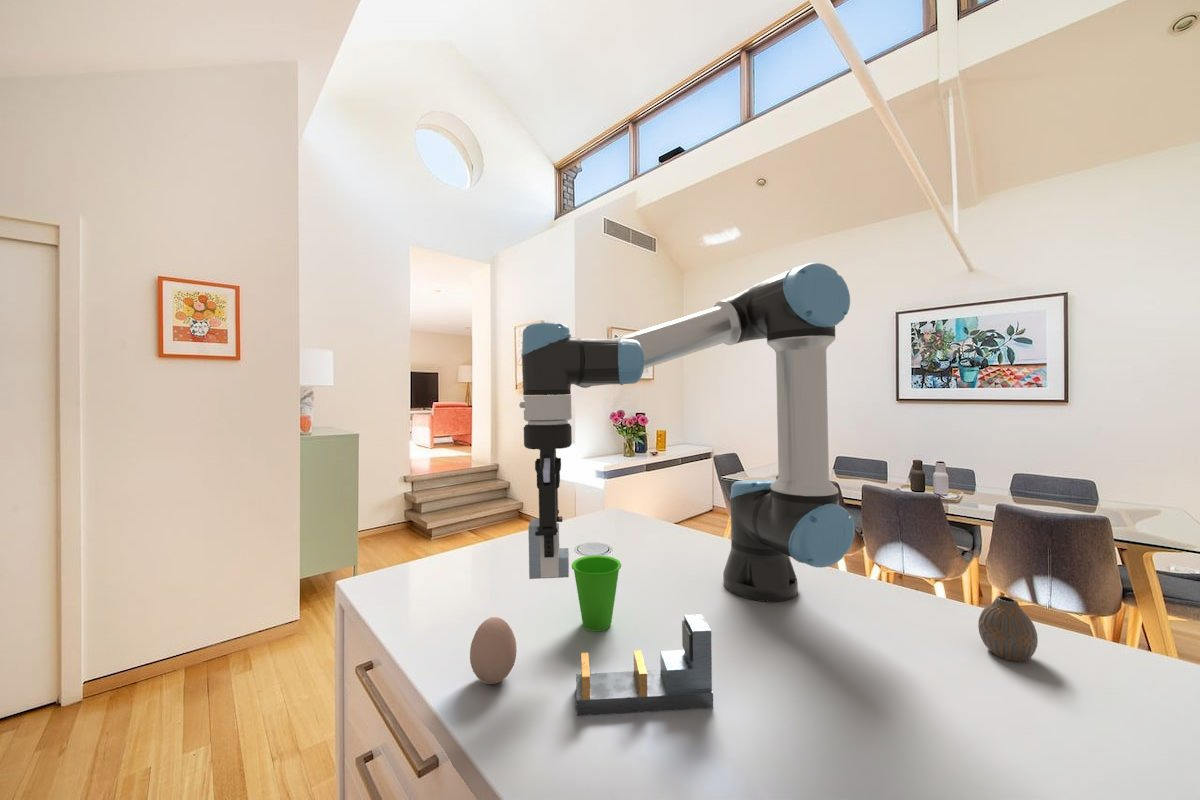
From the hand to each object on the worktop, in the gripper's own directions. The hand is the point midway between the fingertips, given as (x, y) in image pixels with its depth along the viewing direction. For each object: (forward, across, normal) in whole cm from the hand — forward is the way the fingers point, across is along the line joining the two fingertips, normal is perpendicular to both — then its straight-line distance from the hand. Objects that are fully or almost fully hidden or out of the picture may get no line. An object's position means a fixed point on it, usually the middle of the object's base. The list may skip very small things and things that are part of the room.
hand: (550, 569), depth 71 cm
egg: (+14, +5, -8) cm, 17 cm away
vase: (+15, +5, +72) cm, 73 cm away
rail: (+14, +11, +13) cm, 22 cm away
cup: (+14, -10, +8) cm, 19 cm away
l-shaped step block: (0, 0, 0) cm, 1 cm away
